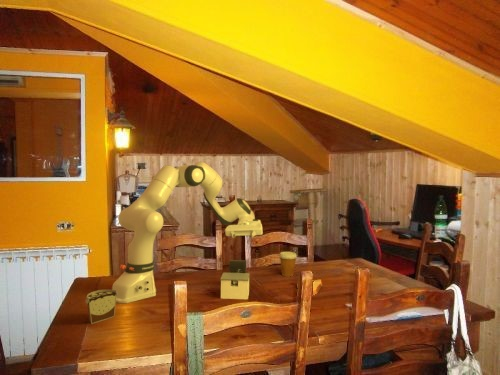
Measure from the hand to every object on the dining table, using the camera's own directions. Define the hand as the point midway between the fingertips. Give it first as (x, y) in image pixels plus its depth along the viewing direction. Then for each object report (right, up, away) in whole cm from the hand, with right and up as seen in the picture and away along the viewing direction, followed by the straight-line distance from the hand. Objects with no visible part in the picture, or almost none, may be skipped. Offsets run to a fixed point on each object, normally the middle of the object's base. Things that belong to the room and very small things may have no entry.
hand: (242, 236), depth 201 cm
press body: (-3, -24, -24) cm, 34 cm away
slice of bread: (+34, -24, -12) cm, 43 cm away
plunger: (-3, -21, -19) cm, 29 cm away
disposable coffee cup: (+24, -23, +11) cm, 35 cm away
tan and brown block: (-54, -25, -53) cm, 80 cm away
